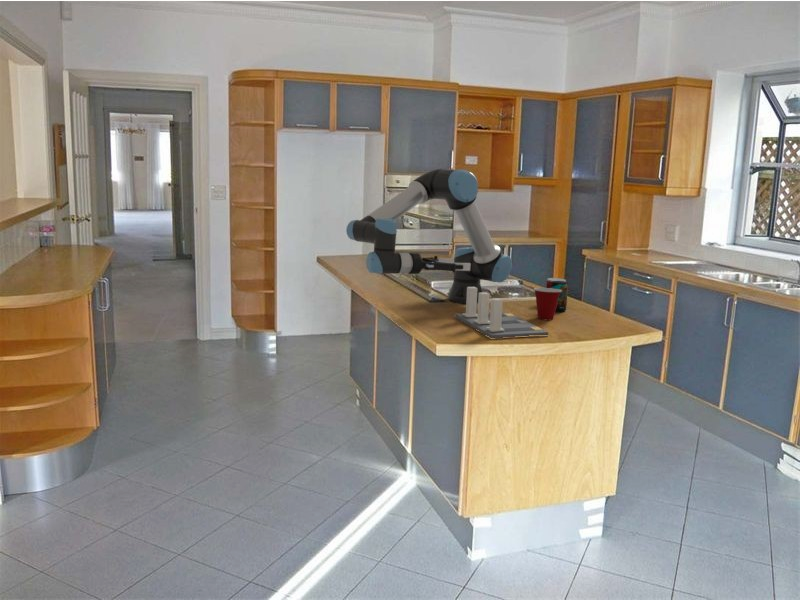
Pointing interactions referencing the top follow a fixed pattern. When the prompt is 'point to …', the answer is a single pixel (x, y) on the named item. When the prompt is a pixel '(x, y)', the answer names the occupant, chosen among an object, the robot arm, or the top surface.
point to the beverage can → (561, 295)
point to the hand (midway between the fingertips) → (461, 264)
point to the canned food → (550, 280)
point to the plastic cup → (546, 302)
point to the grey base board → (505, 326)
